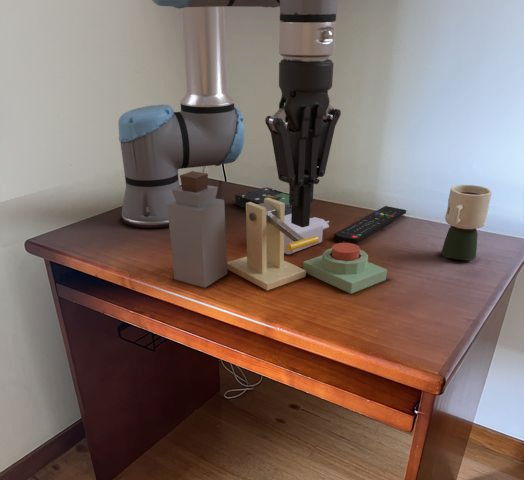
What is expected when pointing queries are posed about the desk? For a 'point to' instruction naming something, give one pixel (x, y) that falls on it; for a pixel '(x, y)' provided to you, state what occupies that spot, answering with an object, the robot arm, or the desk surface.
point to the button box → (345, 271)
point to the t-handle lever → (287, 230)
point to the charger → (305, 231)
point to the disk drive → (259, 196)
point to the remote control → (368, 225)
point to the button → (345, 251)
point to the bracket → (265, 250)
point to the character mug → (465, 220)
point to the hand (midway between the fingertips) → (300, 224)
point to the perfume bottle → (197, 231)
